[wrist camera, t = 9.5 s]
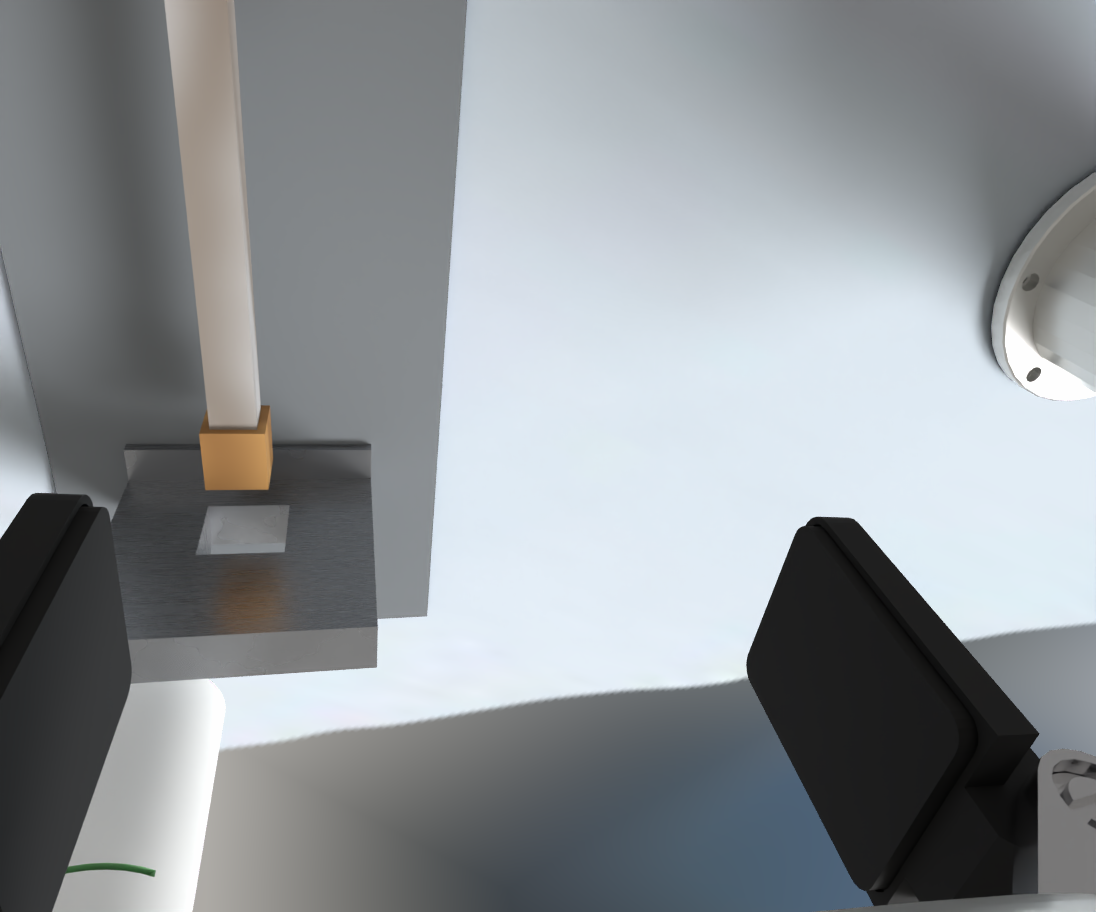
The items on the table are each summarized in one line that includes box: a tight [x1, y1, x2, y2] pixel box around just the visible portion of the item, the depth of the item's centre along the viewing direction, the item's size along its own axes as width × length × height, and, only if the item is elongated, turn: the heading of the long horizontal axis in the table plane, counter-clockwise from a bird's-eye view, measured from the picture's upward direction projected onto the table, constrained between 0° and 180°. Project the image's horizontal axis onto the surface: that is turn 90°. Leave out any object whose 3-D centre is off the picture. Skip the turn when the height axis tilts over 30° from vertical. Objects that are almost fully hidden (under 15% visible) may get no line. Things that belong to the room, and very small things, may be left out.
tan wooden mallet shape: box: [164, 0, 273, 490], centre depth 24 cm, size 4×20×9 cm, turn 172°
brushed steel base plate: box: [111, 444, 378, 684], centre depth 31 cm, size 10×5×10 cm, turn 82°
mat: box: [0, 0, 467, 619], centre depth 31 cm, size 16×32×1 cm, turn 172°
